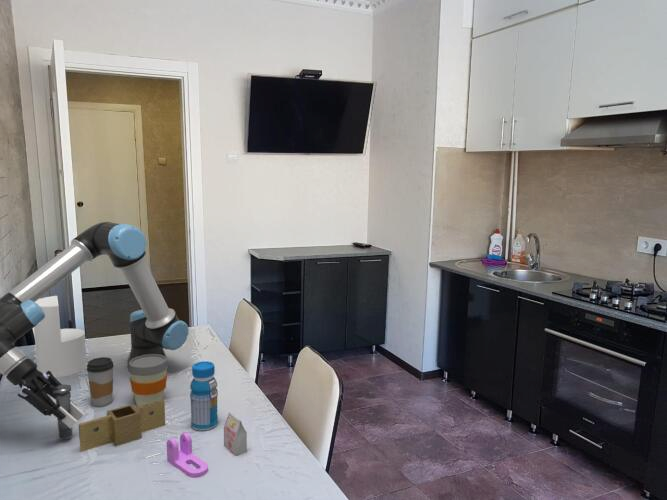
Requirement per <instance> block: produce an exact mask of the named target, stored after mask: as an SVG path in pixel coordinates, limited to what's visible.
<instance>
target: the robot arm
mask: <svg viewBox="0 0 667 500" xmlns="http://www.w3.org/2000/svg"><path fill="white" fill-rule="evenodd" d="M146 246H147V240H146V237H145V234H144V233H143V231H142V230H141V229H140V228H138V226H137V227H136V226H134V225H131V224H127V223H115V222H111V221H104V222H103V221H102V222H99V223H96V224H94V225H92V226H90V227H88V228H87V229H85V230H83V232H81V233H80V234H78V235H77V236H75V237H74V238H73V239H72V240H70V245H69V246H67V247H66V248H64V250H61V251H60V253H58V254H57V255H55V256H54V257H53V258H52V259H51V260H49V261H48V262H46V263H45V264H44V265H42V266H41V267H40V268H39V269H37V270H35V272H33V273H32V274H31V275H29V276H27V278H25V279H24V280H23V281H21V282H20V283H19V284H17V286H15V287H14V288H13V289H11V290H10V291H8V292H7V293H6V294H4V295H3V296H2V297H0V374H1V375H2V376H6V379H7V381H9V382H10V383H11V384H12V385H13V386H17V385H18V386H19V388H20V391H19V393H17V396H18V397H19V398H21V399H23V400H25V401H26V402H27V403H29V404H30V405H32V407H34V409H36V410H37V411H39V412H40V413H41V414H42V415H44V416H46V417H47V416H49V417H51V416H52V415H53V416H54V417H55V418H58V419H59V420H61V421H63V422H64V423H65V424H66V425H67V426H68V427H69V428H71V427H72V428H73V427H74V426H75V424H77V422H79V420H80V419H82V417H83V416H84V415H85V412H83V411H82V409H80V408H79V407H78V406H77V404H76V403H74V402H73V401H72V400H71V399H70V406H71V415H70V414H69V413H68V412H67V411H66V410H65V409H64V408H62V407H61V406H60V407H59V408H58V406H57V405H56V402H54V400H55V401H56V395H55V394H54V393H53V388H55V387H56V386H59V385H63V384H62V383H61V382H60V381H59V380H58V379H57V377H54V376H53V374H52V373H51V371H47V372H46V373H42V372H40V371H38V370H37V363H35V362H34V361H33V360H32V359H31V358H30V357H29V358H27V357H28V356H27V354H25V352H23V351H22V350H20V348H18V346H16V345H15V344H14V343H15V342H17V341H18V340H19V339H20V338H22V337H23V336H24V335H25V334H27V333H28V332H29V331H31V330H32V329H34V327H35V326H37V324H38V323H39V322H40V321H42V320H43V319H44V317H45V313H44V311H43V310H42V309H41V307H40V306H39V305H38V304H36V303H35V302H36V301H37V300H38V299H41V298H43V296H44V295H46V294H47V293H49V291H51V290H52V289H53V288H54V287H56V286H57V285H58V284H60V283H61V282H62V281H64V279H66V278H67V277H69V276H70V275H71V274H72V273H73V272H75V271H76V270H77V269H79V268H80V267H81V266H82V265H84V264H85V263H86V262H92V261H94V260H95V259H96V258H98V257H100V256H102V255H106V256H107V257H108V258H109V260H110V262H111V263H112V265H113V267H114V268H116V269H120V271H121V272H122V275H123V276H124V278H125V280H126V282H127V284H128V286H129V288H130V289H131V292H132V293H133V295H134V297H135V299H136V301H137V302H138V304H139V306H140V308H141V309H139V310H136V311H133V312H131V313H130V315H129V325H130V345H131V346H130V347H131V348H130V351H129V353H128V354H129V355H128V358H127V361H126V362H127V369H128V370H129V362H130V360H132V359H133V358H135V357H138V356H142V355H148V354H158V355H163V356H165V357H166V359H168V358H167V355H166V352H165V350H170V351H175V350H177V349H179V348H182V346H183V345H184V344H185V343H186V342H187V339H188V336H189V330H190V329H189V326H188V324H187V323H186V322H185V321H183V320H180V319H179V317H178V315H177V313H176V311H175V310H174V308H171V307H170V308H169V306H168V305H167V302H166V300H165V298H164V296H163V295H162V292H161V290H160V288H159V287H158V284H157V282H156V280H155V278H154V276H153V274H152V272H151V270H150V268H149V266H148V263H147V262H146V260H145V257H146V256H147V252H146V248H147V247H146ZM69 393H70V398H71V391H70V392H69ZM53 399H54V400H53Z"/></svg>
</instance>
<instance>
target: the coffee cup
mask: <svg viewBox="0 0 667 500" xmlns="http://www.w3.org/2000/svg"><path fill="white" fill-rule="evenodd" d="M114 367H115V366H114V362H113V360H112V358H110V357H105V356H104V357H103V356H101V357H96V358H92V359H91V360H89V361H88V362H87V366H86V372H87V377H88V378H87V379H88V386H89V394H90V398H91V399H90V400H91V404H92V405H93V406H94V407H97V408H101V407H106V406H109V405H110V404H111V403H112V402H113V391H114V390H113V389H114Z"/></svg>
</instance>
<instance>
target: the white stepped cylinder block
mask: <svg viewBox="0 0 667 500" xmlns="http://www.w3.org/2000/svg"><path fill="white" fill-rule="evenodd" d="M58 298H59V297H58V295H52V296H46V297H41V298H39V299H38V300H37V301H36V302H35V303H36V304H38V305H39V306H40V307H41V309H42V310H43V311H44V313H45V317H44V319H43V320H42V321H40V322H39V323H38V324H37V326H35V327H33V333H34V345H35V357H36V365H37V370H38V371H40V372H42V373H46V372H47V371H51V373H52V374H53V376H54V377H55V378H62V377H69V376H73V375H75V374H78V373H80V372H82V371H83V370H85V369H87V365H88V362H87V348H86V346H87V345H86V333H85V330H83V329H80V328H61V320H60V319H61V318H60V306H59V300H58Z"/></svg>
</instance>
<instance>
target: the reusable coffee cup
mask: <svg viewBox="0 0 667 500" xmlns="http://www.w3.org/2000/svg"><path fill="white" fill-rule="evenodd" d="M166 357H167V356H166ZM166 357H165V356H163V355H158V354H148V355H142V356H138V357H135V358H133V359H132V360H130V362H129V369H128V373H129V374H130V375H129V376H130V377H129V382H130V387H131V388H130V389H131V392H132V393H133V396H134V401H135V405H136V407H140V406H143V405H147V404H150V403H154V402H157V401H161V400H164V397H165V389H166V387H167V380H168V379H167V378H168V373H167V369H168V361H167V359H168V358H167V359H166Z"/></svg>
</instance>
